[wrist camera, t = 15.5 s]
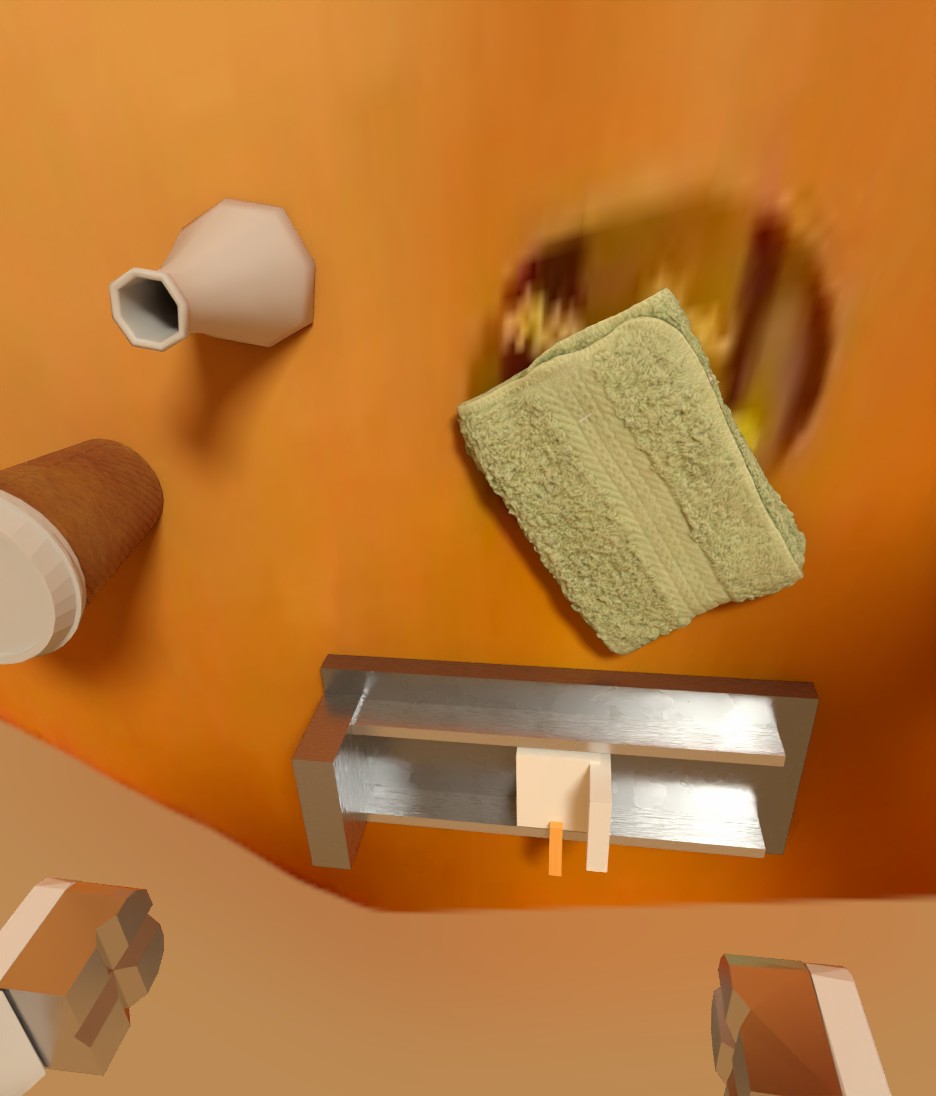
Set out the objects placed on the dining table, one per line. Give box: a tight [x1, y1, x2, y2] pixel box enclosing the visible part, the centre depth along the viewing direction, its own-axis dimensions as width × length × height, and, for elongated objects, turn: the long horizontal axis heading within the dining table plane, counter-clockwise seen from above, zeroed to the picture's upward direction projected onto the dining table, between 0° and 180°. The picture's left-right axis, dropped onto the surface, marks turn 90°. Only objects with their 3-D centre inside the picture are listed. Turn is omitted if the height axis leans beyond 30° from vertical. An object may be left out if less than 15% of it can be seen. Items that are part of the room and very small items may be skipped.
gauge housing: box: [292, 654, 819, 870], centre depth 46 cm, size 30×13×8 cm, turn 92°
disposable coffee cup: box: [0, 439, 163, 664], centre depth 39 cm, size 10×10×12 cm
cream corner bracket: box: [516, 747, 612, 876], centre depth 46 cm, size 6×10×5 cm, turn 2°
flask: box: [109, 198, 315, 352], centre depth 33 cm, size 7×7×10 cm
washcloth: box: [457, 287, 806, 655], centre depth 39 cm, size 13×18×3 cm
